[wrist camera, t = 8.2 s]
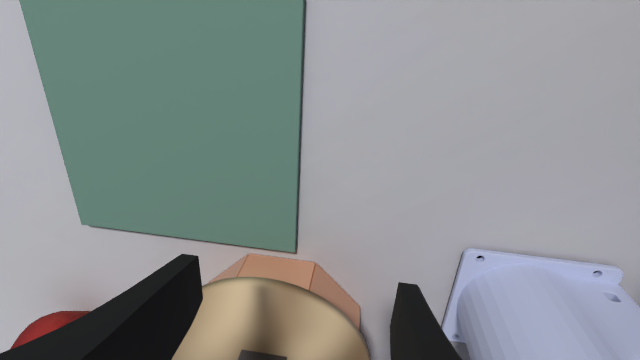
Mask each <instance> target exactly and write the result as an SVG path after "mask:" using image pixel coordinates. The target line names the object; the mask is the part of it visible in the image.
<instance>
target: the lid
mask: <svg viewBox="0 0 640 360" xmlns="http://www.w3.org/2000/svg"><path fill="white" fill-rule="evenodd" d="M202 292H203V301H202V303H201V305H200V308H199V310H198V312H197V315H196V317H195V319H194V321H193V323H192V325H191V327H190V329H189V331H188V332H187V334H186V336H185V337H184V339H183V341H182V343H181V344H180V346H179V348H178V349H177V351H176V353H175V354H174V356H173V358H172V359H171V360H371V359H370V354H369V350H368V347H367V344H366V342H365V340H364V338H363V336H362V334H361V333H360V331H359V330H358V329H357V327H356V326H355V324H354V323H353V322H352V321H351V320H350V319H349V318H348V317H347V316H346V315H345V314H344V313H343V312H342V311H341V310H339V309H338V308H337V307H336V306H335V305H333V304H332V303H330V302H329V301H327V300H326V299H324V298H323V297H321V296H319V295H317V294H315V293H313V292H311V291H309V290H307V289H304V288H302V287H300V286H297V285H294V284H291V283H287V282H284V281H280V280H275V279H270V278H262V277H233V278H226V279H221V280H218V281H214V282H211V283H208V284H206V285H204V286H202Z"/></svg>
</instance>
